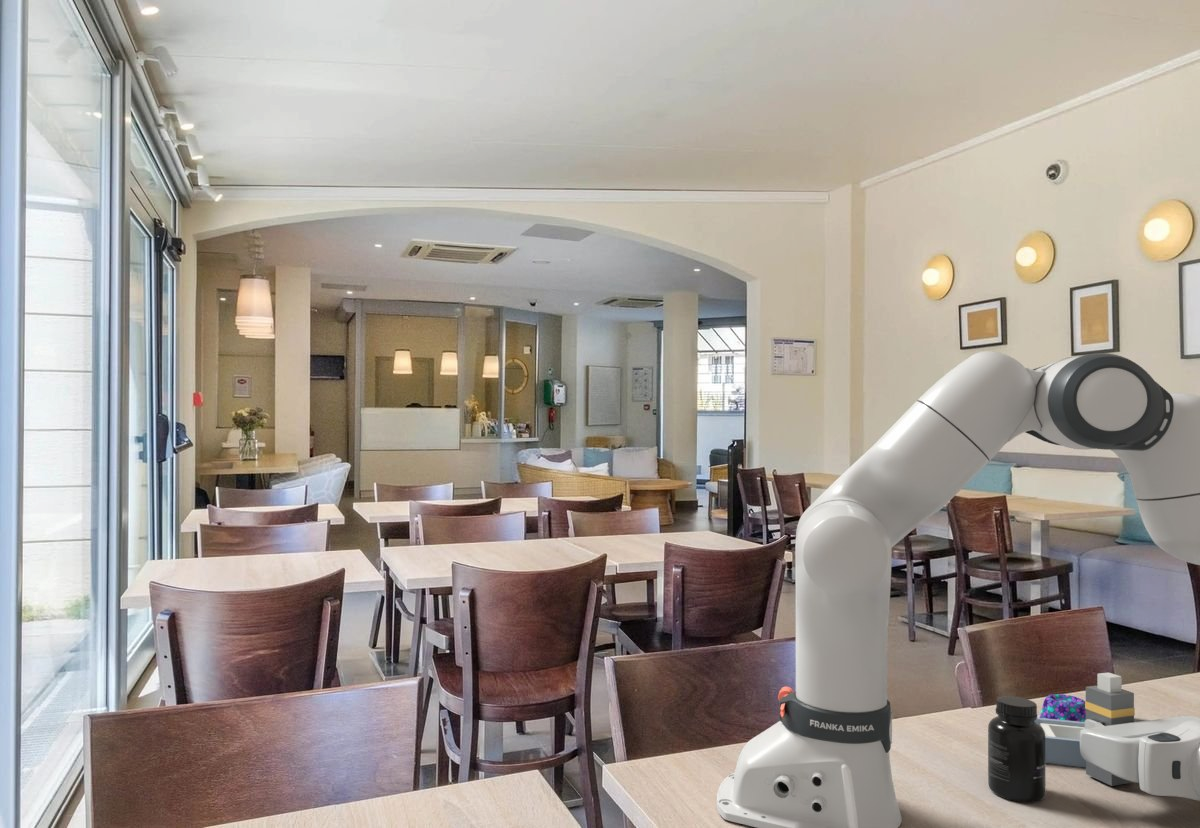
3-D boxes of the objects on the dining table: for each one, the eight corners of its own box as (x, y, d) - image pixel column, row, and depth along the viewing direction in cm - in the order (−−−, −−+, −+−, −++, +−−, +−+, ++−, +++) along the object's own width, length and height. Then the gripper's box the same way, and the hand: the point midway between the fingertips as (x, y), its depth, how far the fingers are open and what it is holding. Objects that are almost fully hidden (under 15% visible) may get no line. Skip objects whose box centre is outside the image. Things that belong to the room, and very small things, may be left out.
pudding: (1007, 723, 138) (1006, 691, 138) (1064, 715, 141) (1064, 684, 141) (1067, 750, 126) (1067, 715, 126) (1128, 741, 130) (1128, 707, 130)
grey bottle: (1111, 786, 112) (1111, 680, 112) (1085, 773, 116) (1084, 672, 116) (1134, 782, 113) (1134, 678, 113) (1108, 770, 117) (1107, 669, 117)
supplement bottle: (1053, 806, 107) (1052, 711, 107) (995, 801, 108) (995, 708, 108) (1036, 784, 113) (1036, 694, 113) (982, 779, 115) (982, 691, 115)
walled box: (1009, 759, 122) (1009, 734, 122) (999, 737, 130) (999, 714, 130) (1119, 771, 118) (1119, 745, 118) (1101, 747, 126) (1101, 723, 126)
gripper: (1263, 726, 105) (1160, 692, 119) (1140, 743, 99) (1046, 706, 112) (1264, 776, 105) (1160, 737, 118) (1140, 797, 99) (1046, 753, 112)
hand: (1103, 722), depth 115 cm, fingers closed on grey bottle, 4 cm apart
